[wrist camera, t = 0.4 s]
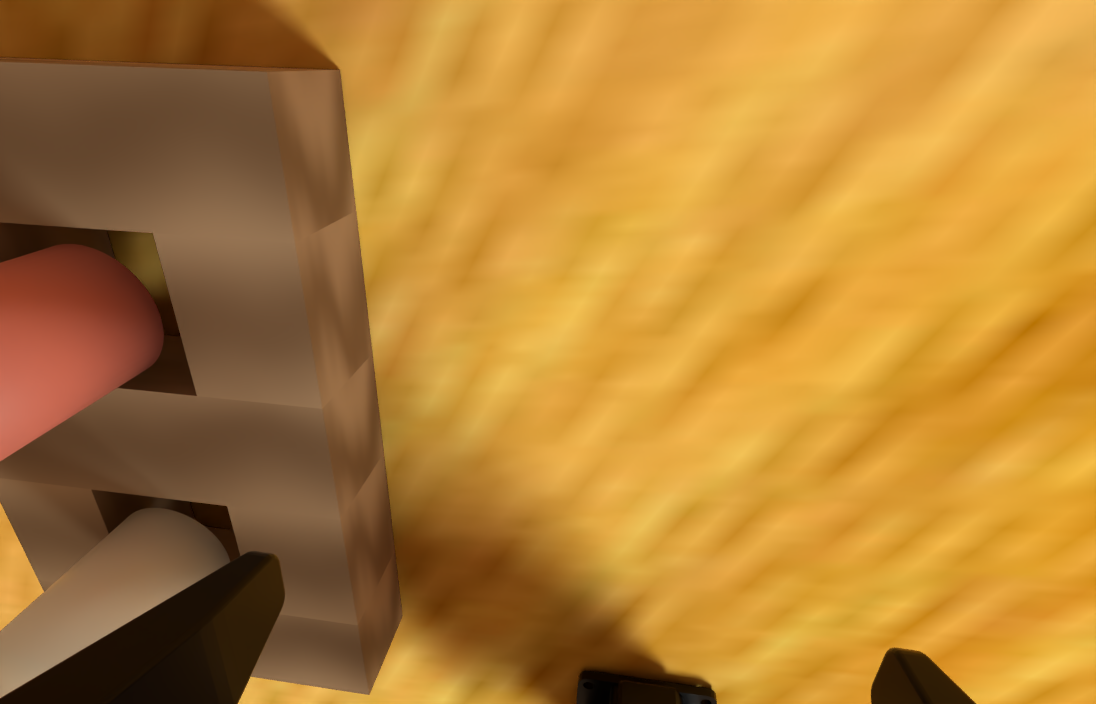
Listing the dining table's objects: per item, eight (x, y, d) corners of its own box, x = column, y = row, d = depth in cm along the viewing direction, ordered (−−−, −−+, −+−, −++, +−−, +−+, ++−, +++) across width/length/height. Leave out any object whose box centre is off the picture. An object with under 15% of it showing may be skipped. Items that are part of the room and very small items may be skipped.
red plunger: (179, 381, 19) (0, 505, 14) (56, 368, 20) (-162, 484, 14) (141, 248, 17) (-83, 333, 12) (6, 238, 18) (-269, 316, 12)
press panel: (402, 616, 29) (369, 694, 25) (138, 579, 30) (72, 649, 27) (339, 69, 18) (267, 72, 14) (-63, 54, 20) (-219, 53, 16)
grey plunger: (241, 600, 24) (125, 758, 18) (140, 586, 24) (-3, 736, 19) (217, 515, 22) (79, 663, 16) (107, 501, 22) (-62, 641, 17)
